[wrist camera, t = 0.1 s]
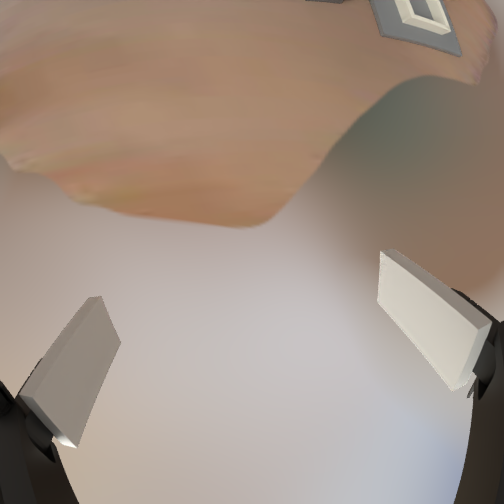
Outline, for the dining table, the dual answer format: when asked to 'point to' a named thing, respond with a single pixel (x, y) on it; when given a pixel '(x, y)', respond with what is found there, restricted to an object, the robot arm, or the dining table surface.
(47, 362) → the robot arm
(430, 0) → the socket tray
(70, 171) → the dining table surface
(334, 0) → the plug block
